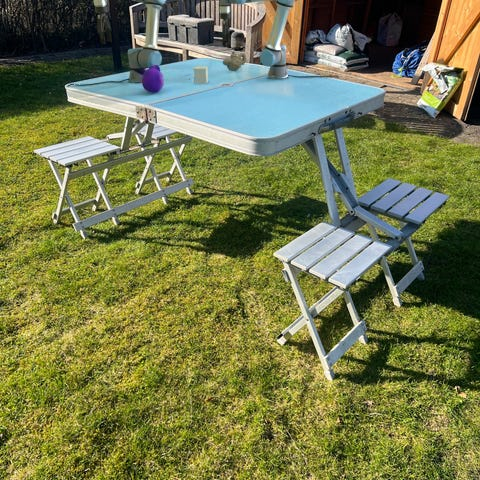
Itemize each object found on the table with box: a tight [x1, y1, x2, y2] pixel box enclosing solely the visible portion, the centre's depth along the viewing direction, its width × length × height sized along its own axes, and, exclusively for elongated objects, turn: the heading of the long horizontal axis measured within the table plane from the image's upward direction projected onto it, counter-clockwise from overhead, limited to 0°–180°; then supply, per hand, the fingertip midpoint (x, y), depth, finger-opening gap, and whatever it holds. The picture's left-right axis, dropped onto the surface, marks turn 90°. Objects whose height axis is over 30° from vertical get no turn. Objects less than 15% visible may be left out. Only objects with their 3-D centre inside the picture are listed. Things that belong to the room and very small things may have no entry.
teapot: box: [222, 50, 247, 72], centre depth 365 cm, size 21×12×15 cm, turn 120°
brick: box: [193, 65, 209, 85], centre depth 327 cm, size 8×9×11 cm
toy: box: [134, 65, 165, 94], centre depth 304 cm, size 16×18×27 cm
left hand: (106, 42), depth 291 cm, fingers open, 13 cm apart
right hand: (225, 44), depth 336 cm, fingers open, 13 cm apart
